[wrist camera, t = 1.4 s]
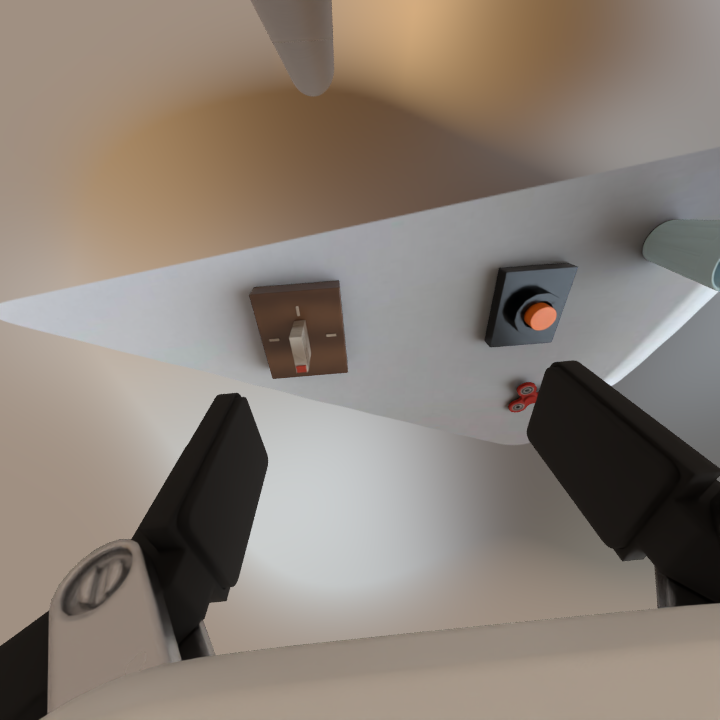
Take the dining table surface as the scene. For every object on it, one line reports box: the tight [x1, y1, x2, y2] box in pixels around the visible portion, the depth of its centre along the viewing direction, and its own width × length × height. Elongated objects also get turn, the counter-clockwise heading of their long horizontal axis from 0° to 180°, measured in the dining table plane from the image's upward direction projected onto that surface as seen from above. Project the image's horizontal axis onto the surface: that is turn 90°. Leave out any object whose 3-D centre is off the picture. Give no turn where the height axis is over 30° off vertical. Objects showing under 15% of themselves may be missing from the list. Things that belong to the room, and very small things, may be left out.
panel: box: [249, 281, 348, 379], centre depth 43 cm, size 14×12×3 cm
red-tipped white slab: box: [289, 320, 311, 373], centre depth 40 cm, size 6×2×5 cm, turn 3°
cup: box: [643, 220, 720, 292], centre depth 36 cm, size 8×8×10 cm
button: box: [524, 302, 557, 330], centre depth 41 cm, size 4×4×2 cm
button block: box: [485, 263, 578, 347], centre depth 43 cm, size 12×10×4 cm
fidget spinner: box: [508, 382, 539, 412], centre depth 55 cm, size 8×7×1 cm
